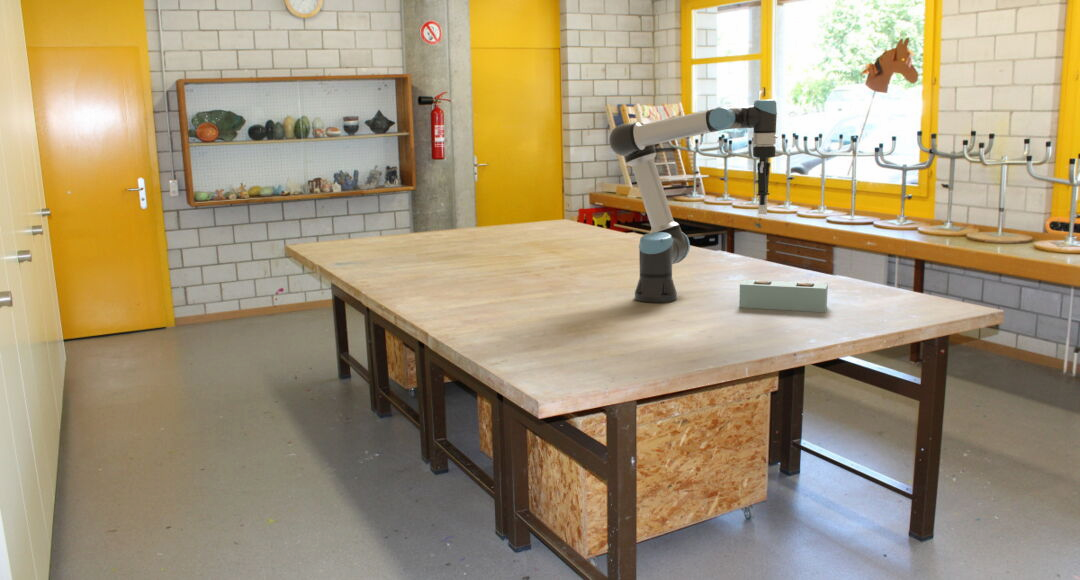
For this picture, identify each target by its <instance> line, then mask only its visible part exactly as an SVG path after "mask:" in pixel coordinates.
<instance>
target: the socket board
mask: <svg viewBox="0 0 1080 580" xmlns="http://www.w3.org/2000/svg"><path fill="white" fill-rule="evenodd" d="M756 281H765V279H764V280H763V279H762V280H760V279H759V280H758V279H743V280H742V281H741V282H740V283H739V302H738V304H739V308H743V309H745V308H746V309H763V310H775V311H776V310H779V311H781V310H782V311H797V312H815V313H826V311H827V307H828V290H829V289H828V287H829V286H828V285H829V283H823V282H810V283H811V284H812V287H802V286H798V283H807V282H805V281H802V282H801V281H783V280H781V281H780V280H767V281H768V282H770V285H761V284H756Z"/></svg>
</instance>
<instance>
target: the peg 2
mask: <svg viewBox="0 0 1080 580" xmlns="http://www.w3.org/2000/svg"><path fill="white" fill-rule="evenodd" d="M811 283H812V282H806V283H798V286H802V287H812V284H811Z"/></svg>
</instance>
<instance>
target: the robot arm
mask: <svg viewBox="0 0 1080 580" xmlns="http://www.w3.org/2000/svg"><path fill="white" fill-rule="evenodd" d="M753 103H754V104H753V105H736V106H733V105H729V106H724V105H722V106H718V107H715V108H711V109H708V110H707V109H706V110H703V111H698V112H692V113H690V114H685V115H680V116H676V117H671V118H668V119H667V118H665V119H663V120H658V121H657V120H656V121H653V122H648V123H643V122H632V123H631V122H630V123H622V124H619V125H617V126H615V127H614V128H613V129H612V130H611V132H610V134H609V140H608V141H609V145H610V148H611V150H612V151H613V152H614V153H615V154H616V155H618V156H621V157H624V160H625V163H626V165H627V166H630V167H631V169H632V172H633V175H634V178H635V181H636V184H637V187H638V190H639V194H640V196H641V199H642V202H643V203H642V204H643V206H644V209H645V212H646V215H647V218H648V221H649V224H650V227H651V229H650V231H649V233H645V234H643V235H642V236H641V237H640V239H639V245H638V250H639V252H638V253H639V258H638V259H639V260H638V261H639V279H638V281H637V284H636V285H637V286H636V288H635V289H634V290H635V291H634V300H636V301H638V302H642V303H651V304H652V303H653V304H654V303H655V304H656V303H657V304H659V303H660V304H661V303H662V304H663V303H670V302H674V301H677V298H678V292H677V289H676V286H675V283H674V279H673V265H674V264H675V265H676V264H678V263H680V262H682V261H683V260H684V259H685V258H687V256H688V255H689V253H690V250H691V249H690V248H691V243H690V240H689V239H690V238H689V237H688V236H687V235H686V234H685V233H684V232H683V231H682V228H681V226H680V224H679V223H678V222H677V221H675V220H674V217H673V214H672V211H671V208H670V205H669V202H668V198H667V196H666V193H665V189H664V187H663V183H662V179H661V177H660V174H659V170H658V167H657V165H656V162H655V158H656V156H657V151H656V147H655V146H656V145H657V144H662V143H666V142H667V143H668V142H672V141H677V140H681V139H686V138H691V137H695V136H700V135H705V134H710V133H715V132H720V131H725V130H732V129H753V134H752V135H753V137H752V138H753V139H752V145H754V146H753V147H752V148H753V149H752V156H753V158H759V162H757V163H756V165H757V166H756V167H757V193H756V196H757V197H758V209H757V210H758V212H757V213H758V215H767V214H768V196H769V195H770V192H769V183H770V182H769V180H770V169H771V162H770V161H769V158H775V157H776V151H777V150H776V149H777V148H776V146H775V145H776V143H777V142H776V140H777V139H778V138H779V136H778V135H776V134H777V117H778V116H777V115H778V113H777V111H778V110H777V101H776V100H775V99H756V100H754V102H753Z"/></svg>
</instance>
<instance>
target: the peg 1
mask: <svg viewBox="0 0 1080 580" xmlns="http://www.w3.org/2000/svg"><path fill="white" fill-rule="evenodd" d="M768 281H769V280H764V281H756V284H761V285H770V282H768Z"/></svg>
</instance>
